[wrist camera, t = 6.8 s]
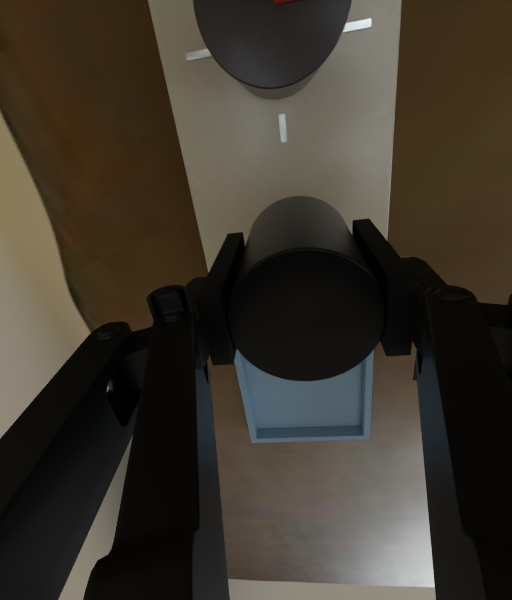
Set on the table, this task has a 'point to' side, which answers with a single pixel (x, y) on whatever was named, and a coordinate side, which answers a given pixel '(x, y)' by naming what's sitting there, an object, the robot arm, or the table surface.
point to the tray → (306, 405)
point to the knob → (271, 40)
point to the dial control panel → (284, 125)
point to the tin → (304, 294)
